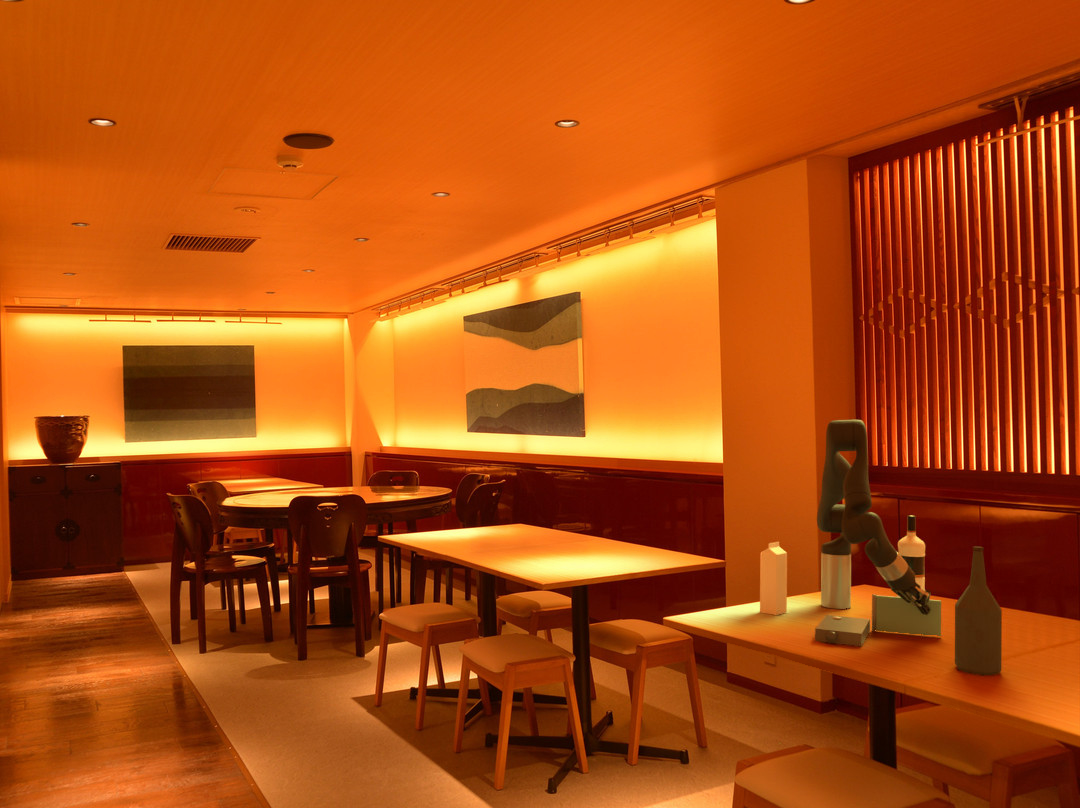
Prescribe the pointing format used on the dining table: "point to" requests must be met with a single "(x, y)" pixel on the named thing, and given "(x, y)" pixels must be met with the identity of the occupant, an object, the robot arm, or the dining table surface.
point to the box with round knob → (842, 630)
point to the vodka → (913, 551)
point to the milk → (773, 580)
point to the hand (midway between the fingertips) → (926, 612)
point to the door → (905, 616)
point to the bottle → (978, 624)
